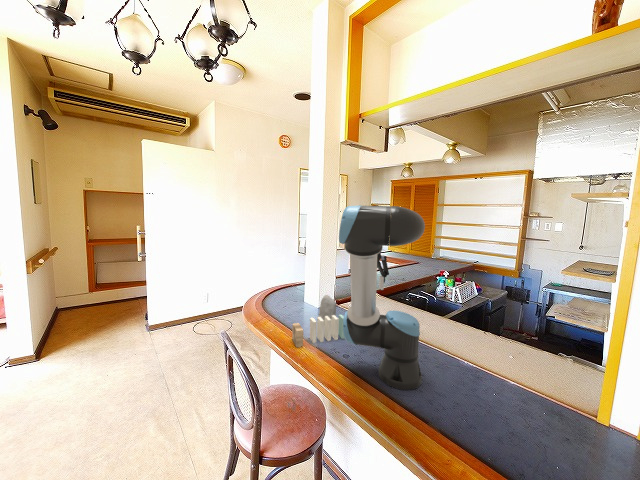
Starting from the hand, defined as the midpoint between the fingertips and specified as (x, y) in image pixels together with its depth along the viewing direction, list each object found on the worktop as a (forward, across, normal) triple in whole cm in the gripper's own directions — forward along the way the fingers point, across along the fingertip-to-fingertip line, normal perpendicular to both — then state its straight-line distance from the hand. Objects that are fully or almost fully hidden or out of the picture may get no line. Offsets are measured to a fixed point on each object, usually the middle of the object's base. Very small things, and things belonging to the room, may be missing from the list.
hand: (371, 290), depth 131 cm
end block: (+22, +37, 0) cm, 43 cm away
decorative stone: (+22, +17, -15) cm, 32 cm away
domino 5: (+22, +15, 0) cm, 27 cm away
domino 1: (+22, +30, 0) cm, 37 cm away
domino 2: (+22, +26, 0) cm, 34 cm away
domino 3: (+22, +23, 0) cm, 31 cm away
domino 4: (+22, +19, 0) cm, 29 cm away
